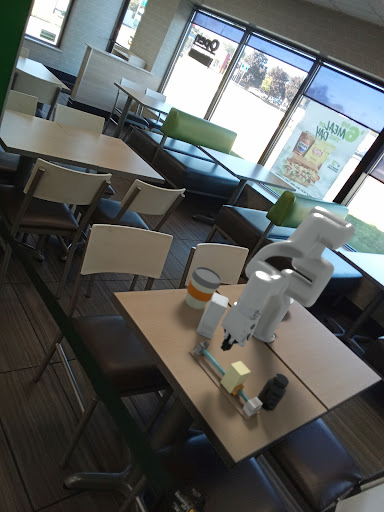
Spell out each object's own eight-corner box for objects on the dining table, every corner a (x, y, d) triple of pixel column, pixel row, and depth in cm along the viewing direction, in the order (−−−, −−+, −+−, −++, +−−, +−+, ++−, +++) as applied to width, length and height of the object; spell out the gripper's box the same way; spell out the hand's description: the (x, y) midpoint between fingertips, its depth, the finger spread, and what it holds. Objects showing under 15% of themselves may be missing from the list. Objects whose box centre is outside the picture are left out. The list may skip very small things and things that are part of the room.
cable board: (204, 348, 143) (209, 338, 141) (260, 412, 126) (267, 402, 124) (189, 352, 137) (194, 342, 136) (245, 420, 120) (252, 410, 118)
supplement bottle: (254, 393, 133) (270, 368, 128) (271, 397, 134) (288, 373, 129) (258, 409, 127) (276, 384, 122) (277, 413, 128) (294, 389, 123)
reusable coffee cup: (199, 315, 160) (213, 286, 154) (175, 298, 164) (189, 269, 158) (212, 306, 171) (227, 279, 165) (190, 290, 175) (203, 263, 169)
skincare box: (210, 340, 149) (227, 308, 142) (194, 332, 149) (211, 301, 142) (213, 328, 156) (229, 298, 150) (198, 321, 157) (214, 290, 150)
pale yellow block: (229, 378, 133) (240, 360, 129) (239, 389, 130) (250, 371, 126) (220, 382, 129) (230, 364, 126) (229, 393, 126) (241, 375, 123)
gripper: (271, 321, 120) (246, 362, 128) (239, 291, 129) (218, 331, 137) (256, 325, 115) (231, 368, 123) (224, 293, 124) (203, 335, 132)
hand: (224, 348), depth 130 cm, fingers closed
